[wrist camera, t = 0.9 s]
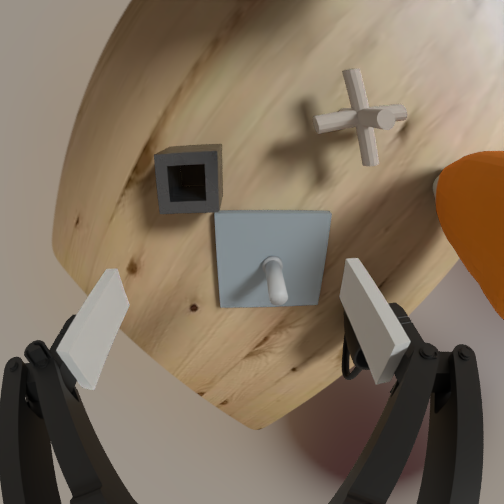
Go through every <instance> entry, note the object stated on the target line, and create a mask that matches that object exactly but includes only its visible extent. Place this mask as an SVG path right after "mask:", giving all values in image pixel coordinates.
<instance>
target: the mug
mask: <svg viewBox="0 0 504 504" xmlns="http://www.w3.org/2000/svg"><path fill="white" fill-rule="evenodd" d="M344 329H345V335H344V343H343V355H342V374H343V376H344V378H345V379H347V380H351V379H353V378H355V377H356V376H357V375H358V374H359V373H360V372H361V370H362V369H365V370H369V369H370V368H369V366H368V363H367V361H366V358H365V356H364V353H363V351H362V348H361V346H360V344H359V341H358V339H357V337H356V334H355V332H354V330H353V327H352V325H351V323H350V320H349V318H348V316H347V313H346V311H345V309H344ZM350 355H351V358H352V360H353V363H354V364H355V366H356V367H355V368H354V370H353V371H352V372H351V373H350V371H349V356H350Z"/></svg>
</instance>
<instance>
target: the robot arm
mask: <svg viewBox="0 0 504 504" xmlns="http://www.w3.org/2000/svg"><path fill="white" fill-rule="evenodd" d="M339 298H340V300H341V302H342V305H343V307H344V309H345V311H346V313H347V316H348V318H349V320H350V323H351V325H352V327H353V330H354V332H355V334H356V337H357V339H358V341H359V344H360V346H361V348H362V351H363V353H364V356H365V358H366V361H367V363H368V366H369V368H370V371H371V373H372V376H373V378H374V381H375V384H381V383H385V382H389V381H391V379H392V377H393V375H394V374H395V376H396V378H397V381H396V383H395V385H394V386H393V388H392V390H391V391H390V393H391V395H390V397H389V399H388V402H387V404H386V406H385V408H384V411H383V413H382V415H381V417H380V419H379V421H378V423H377V425H376V427H375V429H374V431H373V433H372V435H371V437H370V439H369V440H368V442H367V444H366V446H365V448H364V450H363V451H362V453H361V455H360V456H359V458H358V460H357V462H356V463H355V465H354V467H353V468H352V470H351V471H350V473H349V475H348V476H347V478H346V479H345V481H344V482H343V484H342V485H341V487H340V488H339V490H338V491H337V493H336V494H335V496H334V497H333V498H332V500H331V501H330V502H329V503H328V504H386V502H387V499H388V498H389V496H390V494H391V492H392V490H393V489H394V487H395V485H396V483H397V481H398V479H399V477H400V475H401V473H402V470H403V468H404V466H405V464H406V462H407V459H408V457H409V455H410V452H411V450H412V448H413V445H414V443H415V440H416V437H417V435H418V432H419V429H420V427H421V424H422V421H423V418H424V415H425V412H426V409H427V405H428V402H429V399H430V419H429V432H428V442H427V451H426V458H425V466H424V471H423V477H422V483H421V487H420V492H419V496H418V501H417V504H479V497H480V489H481V481H482V468H483V412H482V399H481V389H480V381H479V374H478V368H477V361H476V356H475V353H474V351H473V350H472V349H471V348H470V347H468V346H467V345H463V344H460V345H457V346H456V347H455V348H454V350H453V351H452V352H440V351H438V349H437V348H436V347H435V346H433V345H431V344H430V343H424V341H423V339H422V338H421V336H420V334H419V333H418V331H417V330H416V328H415V327H414V325H413V323H411V320H410V318H409V317H408V315H407V314H406V312H405V311H404V309H403V308H402V307H401V306H399V305H398V304H397V303H389V304H388V303H387V301H386V300H385V298H384V296H383V295H382V293H381V292H380V290H379V289H378V287H377V285H376V284H375V282H374V281H373V279H372V278H371V276H370V275H369V273H368V272H367V270H366V269H365V267H364V266H363V264H362V263H361V261H360V260H359V259H358V258H348V259H346V261H345V267H344V273H343V279H342V285H341V291H340V296H339ZM129 306H130V305H129V302H128V299H127V297H126V294H125V291H124V288H123V285H122V282H121V278H120V275H119V272H118V269H106V271H105V272H104V273H103V275H102V276H101V278H100V279H99V281H98V282H97V284H96V285H95V287H94V288H93V290H92V291H91V293H90V294H89V296H88V298H87V299H86V301H85V302H84V304H83V306H82V307H81V309H80V310H79V312H78V313H77V315H72V316H71V317H70V318H69V319H68V320H67V321H66V323H65V324H64V326H63V329H61V331H60V334H59V335H58V336H57V338H56V339H55V341H54V343H53V345H52V346H51V348H50V350H49V349H48V348H47V346H46V345H45V343H44V342H43V341H40V340H37V341H33V342H32V343H30V344H29V345H28V346H27V347H26V349H25V352H24V356H25V357H26V358H27V360H28V361H29V362H30V363H24V362H23V361H22V359H21V358H19V357H14V358H11V359H10V360H9V361H8V362H7V364H6V366H5V369H4V375H3V382H2V390H1V398H0V481H1V490H2V497H3V503H4V504H61V500H60V496H59V491H58V487H57V482H56V477H55V471H54V465H53V458H52V450H51V444H52V446H53V449H54V452H55V455H56V458H57V460H58V463H59V465H60V468H61V470H62V473H63V475H64V477H65V479H66V482H67V484H68V486H69V488H70V491H71V493H72V496H73V498H72V499H71V500H70V504H138V503H137V502H136V501H135V500H134V499H133V498H132V496H131V495H130V493H129V492H128V490H127V489H126V487H125V486H124V484H123V482H122V481H121V479H120V478H119V476H118V474H117V473H116V471H115V469H114V468H113V466H112V464H111V462H110V460H109V458H108V457H107V455H106V453H105V451H104V449H103V447H102V445H101V443H100V441H99V439H98V437H97V435H96V433H95V431H94V429H93V426H92V424H91V422H90V420H89V418H88V415H87V413H86V411H85V408H84V406H83V403H82V401H81V398H80V395H79V393H78V390H77V389H76V387H75V384H76V381H77V382H78V383H79V384H80V385H81V387H82V388H86V389H91V390H95V387H96V384H97V381H98V379H99V376H100V374H101V371H102V368H103V366H104V363H105V361H106V358H107V356H108V353H109V351H110V349H111V346H112V344H113V341H114V339H115V337H116V334H117V332H118V330H119V328H120V325H121V323H122V321H123V319H124V316H125V314H126V312H127V310H128V308H129ZM25 397H26V400H25ZM50 441H51V442H50Z"/></svg>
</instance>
